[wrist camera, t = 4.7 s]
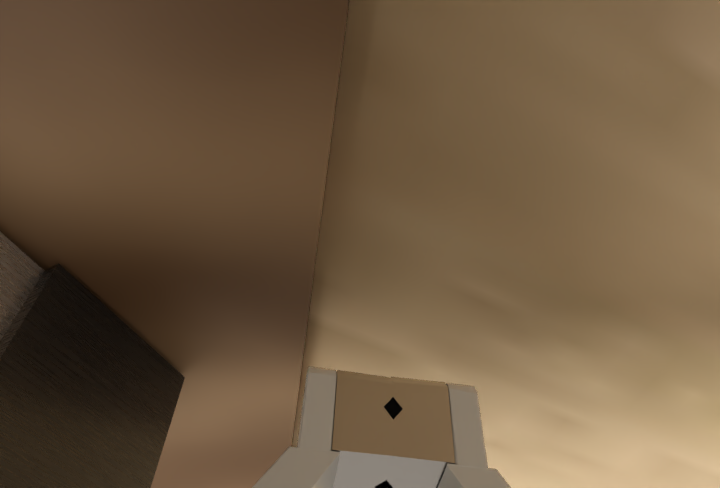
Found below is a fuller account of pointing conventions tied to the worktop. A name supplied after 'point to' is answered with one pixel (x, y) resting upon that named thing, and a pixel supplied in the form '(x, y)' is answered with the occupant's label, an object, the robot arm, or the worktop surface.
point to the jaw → (75, 385)
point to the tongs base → (181, 193)
